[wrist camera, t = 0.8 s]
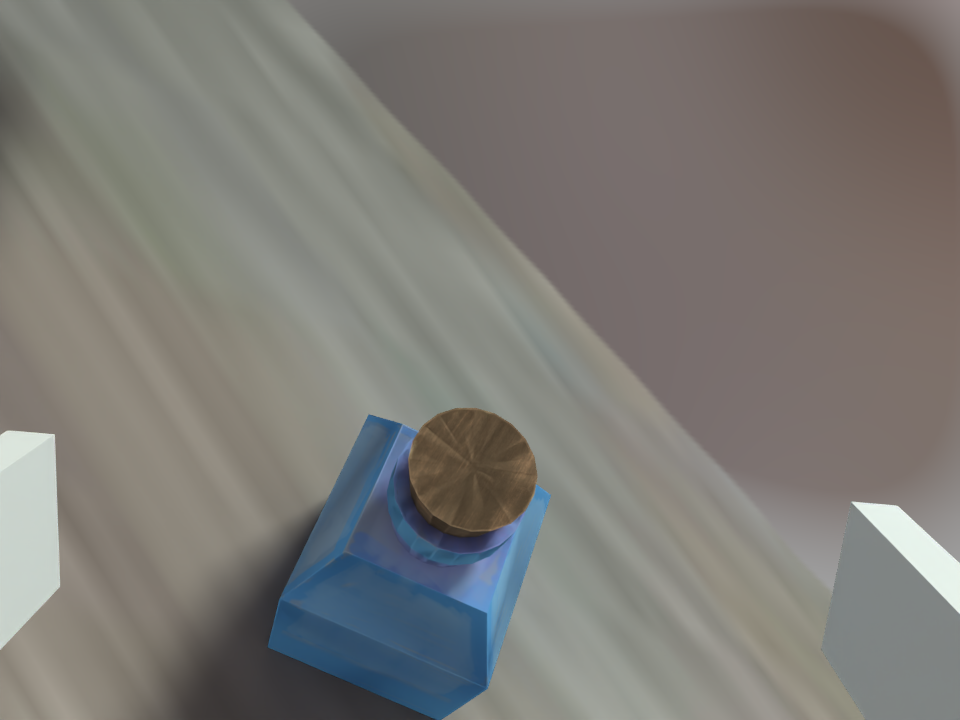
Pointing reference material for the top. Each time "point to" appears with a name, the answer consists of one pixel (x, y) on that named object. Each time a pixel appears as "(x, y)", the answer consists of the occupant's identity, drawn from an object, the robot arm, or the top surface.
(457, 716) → the top surface
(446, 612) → the perfume bottle
